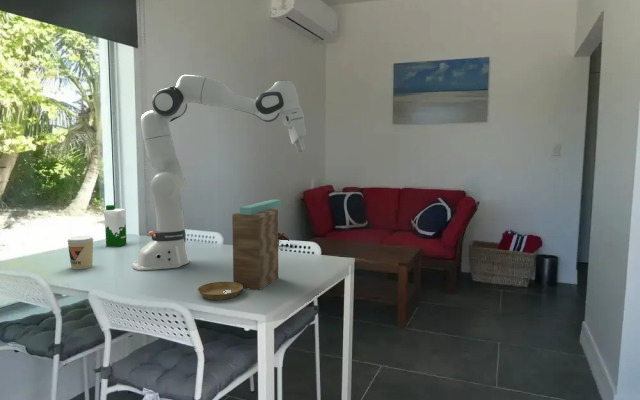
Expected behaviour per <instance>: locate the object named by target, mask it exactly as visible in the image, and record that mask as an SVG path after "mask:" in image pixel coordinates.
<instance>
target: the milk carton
mask: <svg viewBox="0 0 640 400" xmlns="http://www.w3.org/2000/svg"><path fill="white" fill-rule="evenodd" d="M126 216H127V215H126V208H116V206H115V205H114V204H108V205H107V204H106V205H105V209H104V210H103V218H104V226H105V228H104V230H105V247H107V248H111V247H112V248H121V247H123V246H125V245H127V225H126V224H127V223H126V222H127V221H126Z"/></svg>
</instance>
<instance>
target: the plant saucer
mask: <svg viewBox="0 0 640 400" xmlns="http://www.w3.org/2000/svg"><path fill="white" fill-rule="evenodd" d="M242 289H244V288H243V286H242V285H241V284H239V283H235V282H233V281H214V282H209V283H205V284H202V285H200V286H199V287H198V288H197V291H198V292H199V294H200V295H201V296H203V297H204V298H205V299H208V300H213V301H214V300H215V301H218V300H221V299H222V300H227V299H228V298H229V299H232V298H234V297H236V296H238V294H239V293H241V291H242ZM225 290H231V293H227V294H224V293H225V292H226V291H225ZM223 291H225V292H224V293H223ZM229 299H228V300H229Z"/></svg>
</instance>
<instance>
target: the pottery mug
mask: <svg viewBox="0 0 640 400" xmlns="http://www.w3.org/2000/svg"><path fill="white" fill-rule="evenodd" d="M280 240H288V241H290V240H289V237H288V236H287V235H286V234H285V233H284V232H282V231H278V245H279V244H280Z"/></svg>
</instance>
